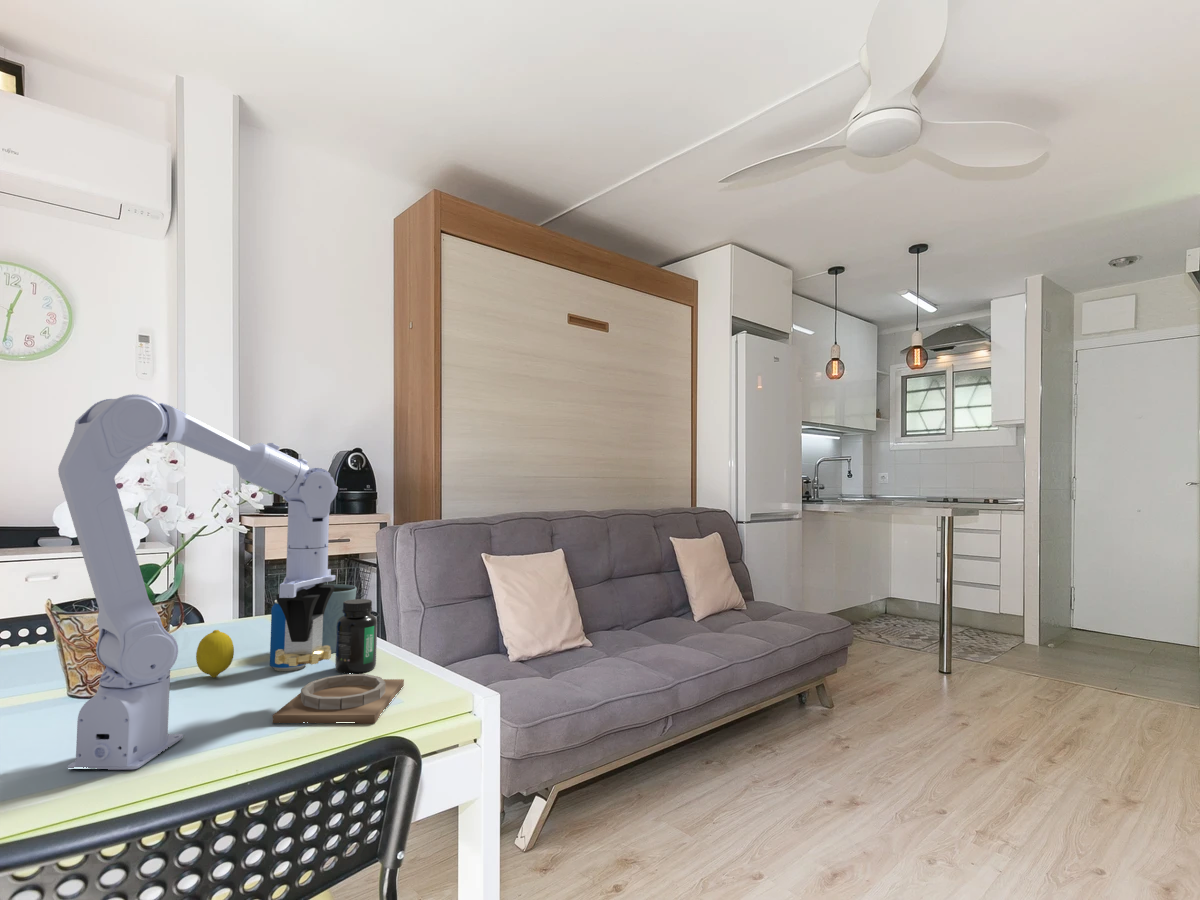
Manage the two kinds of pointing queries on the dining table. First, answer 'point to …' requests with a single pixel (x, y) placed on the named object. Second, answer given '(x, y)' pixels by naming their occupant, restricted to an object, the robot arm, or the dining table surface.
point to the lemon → (215, 653)
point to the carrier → (340, 700)
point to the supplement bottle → (356, 637)
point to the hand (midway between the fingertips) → (305, 637)
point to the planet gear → (305, 646)
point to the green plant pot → (335, 612)
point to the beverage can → (279, 638)
